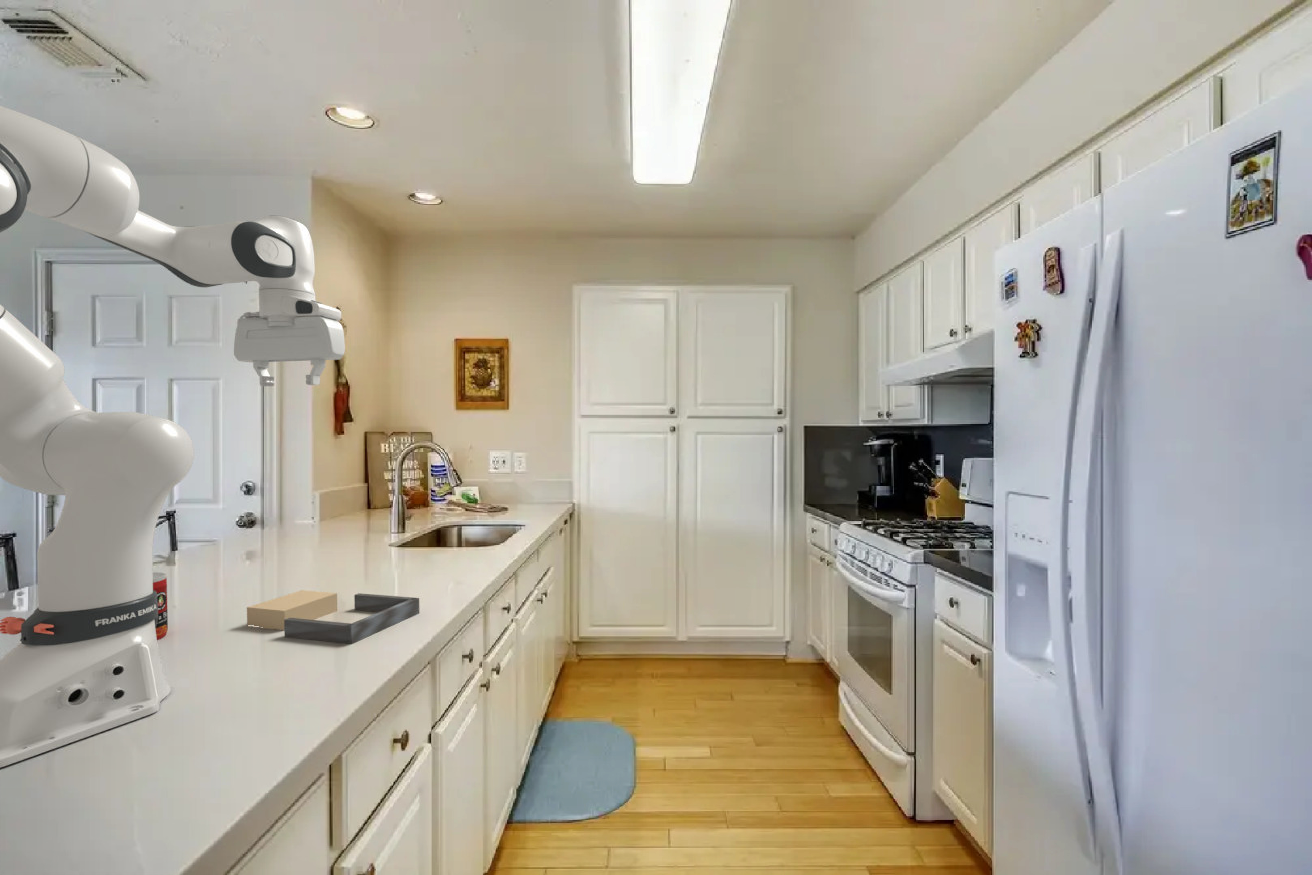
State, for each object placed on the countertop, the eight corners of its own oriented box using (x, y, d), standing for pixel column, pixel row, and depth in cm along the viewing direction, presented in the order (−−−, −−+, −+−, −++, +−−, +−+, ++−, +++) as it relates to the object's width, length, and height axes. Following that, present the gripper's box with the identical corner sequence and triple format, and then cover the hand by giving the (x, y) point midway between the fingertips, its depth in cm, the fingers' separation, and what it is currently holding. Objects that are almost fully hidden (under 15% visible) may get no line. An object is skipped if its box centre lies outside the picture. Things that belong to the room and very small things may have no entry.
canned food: (142, 647, 100) (140, 582, 100) (96, 647, 100) (94, 583, 100) (179, 631, 108) (178, 571, 108) (136, 632, 108) (135, 572, 108)
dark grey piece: (352, 643, 100) (351, 626, 100) (284, 636, 104) (284, 619, 104) (419, 613, 117) (419, 598, 117) (359, 607, 121) (358, 593, 121)
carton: (284, 632, 108) (284, 610, 108) (247, 628, 110) (246, 607, 110) (337, 612, 119) (336, 593, 119) (302, 609, 122) (301, 590, 122)
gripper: (223, 309, 107) (225, 385, 107) (325, 304, 104) (327, 382, 104) (252, 315, 113) (253, 388, 113) (349, 311, 110) (351, 385, 110)
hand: (289, 385), depth 108 cm, fingers open, 8 cm apart
